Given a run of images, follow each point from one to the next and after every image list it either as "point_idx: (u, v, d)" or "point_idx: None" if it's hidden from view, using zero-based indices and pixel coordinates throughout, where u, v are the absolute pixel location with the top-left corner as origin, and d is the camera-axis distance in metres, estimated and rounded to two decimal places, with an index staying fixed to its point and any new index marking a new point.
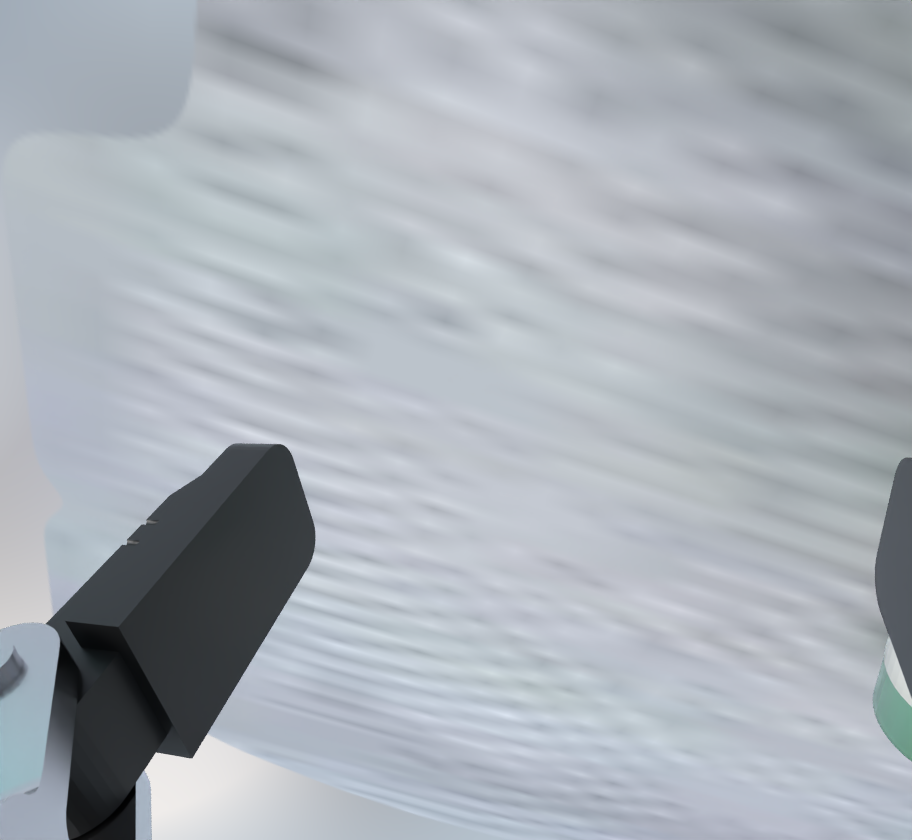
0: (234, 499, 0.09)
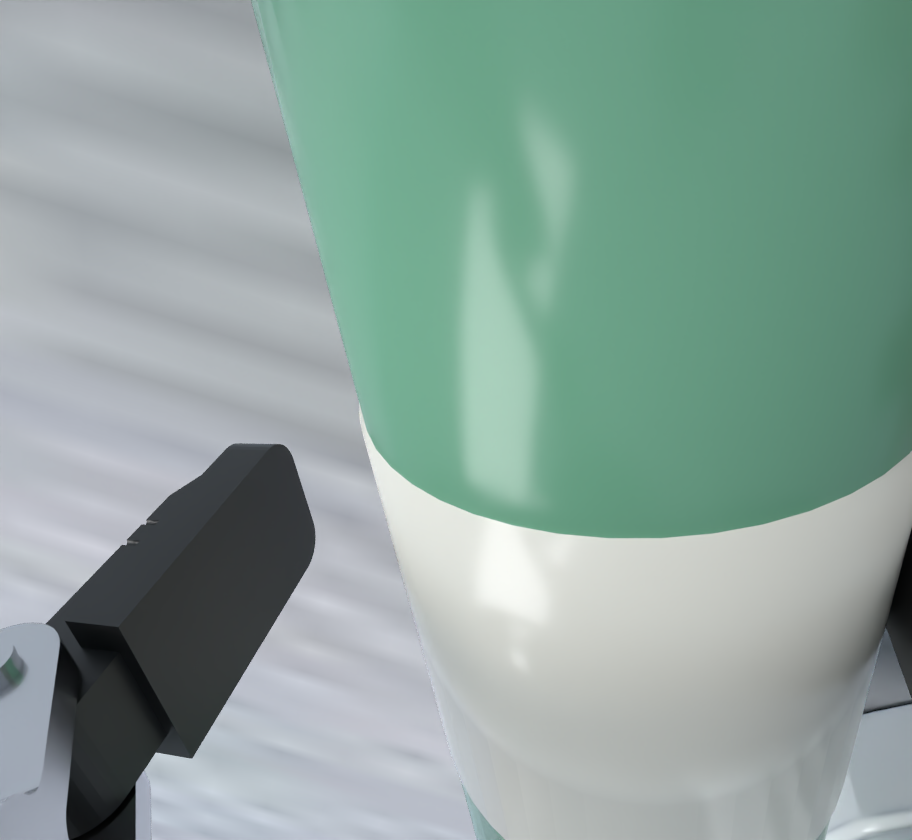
0: (234, 499, 0.09)
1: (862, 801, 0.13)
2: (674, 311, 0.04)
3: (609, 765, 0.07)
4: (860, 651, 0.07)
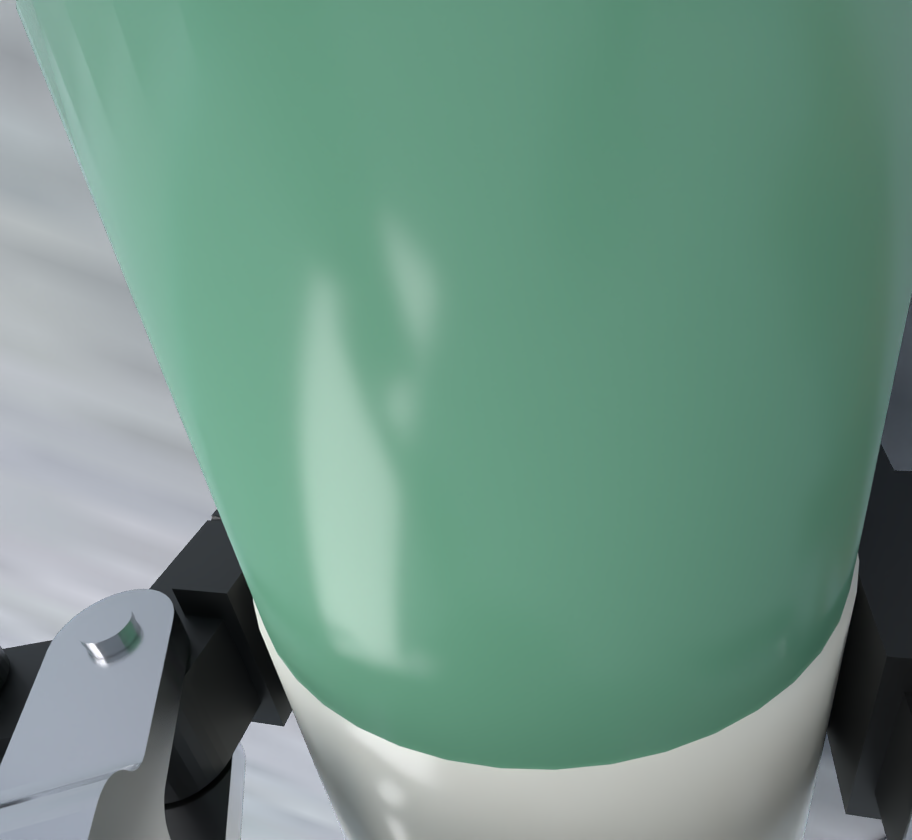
0: None
1: None
2: (232, 508, 0.05)
3: (344, 837, 0.08)
4: None
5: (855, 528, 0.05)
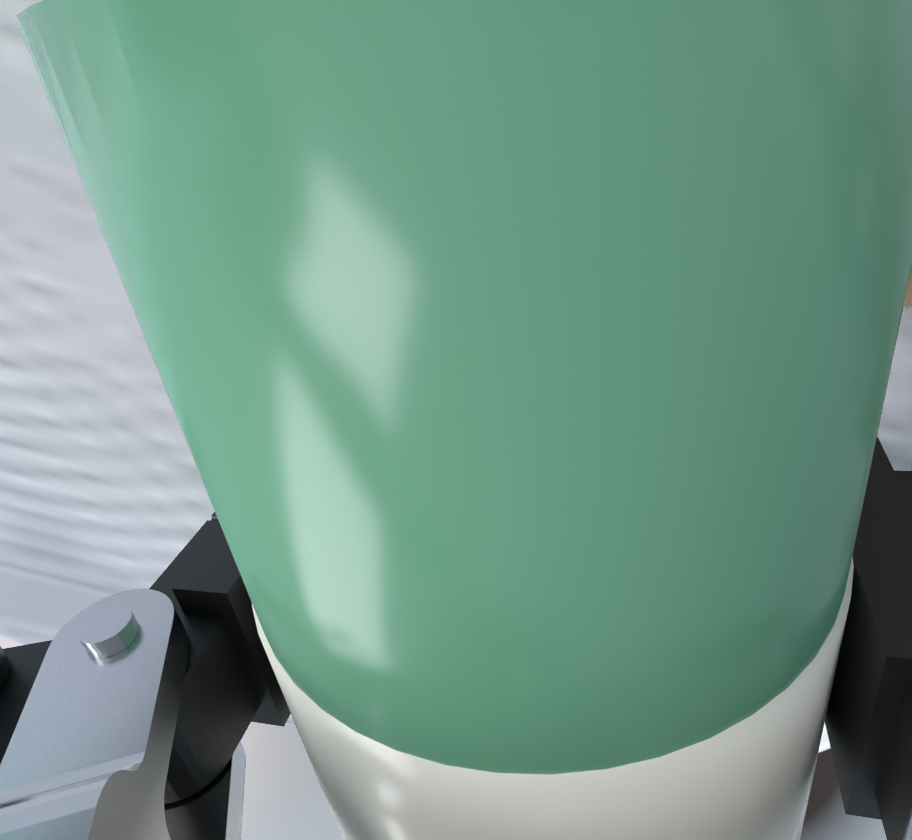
0: None
1: None
2: (233, 514, 0.05)
3: (343, 839, 0.08)
4: None
5: (848, 535, 0.05)
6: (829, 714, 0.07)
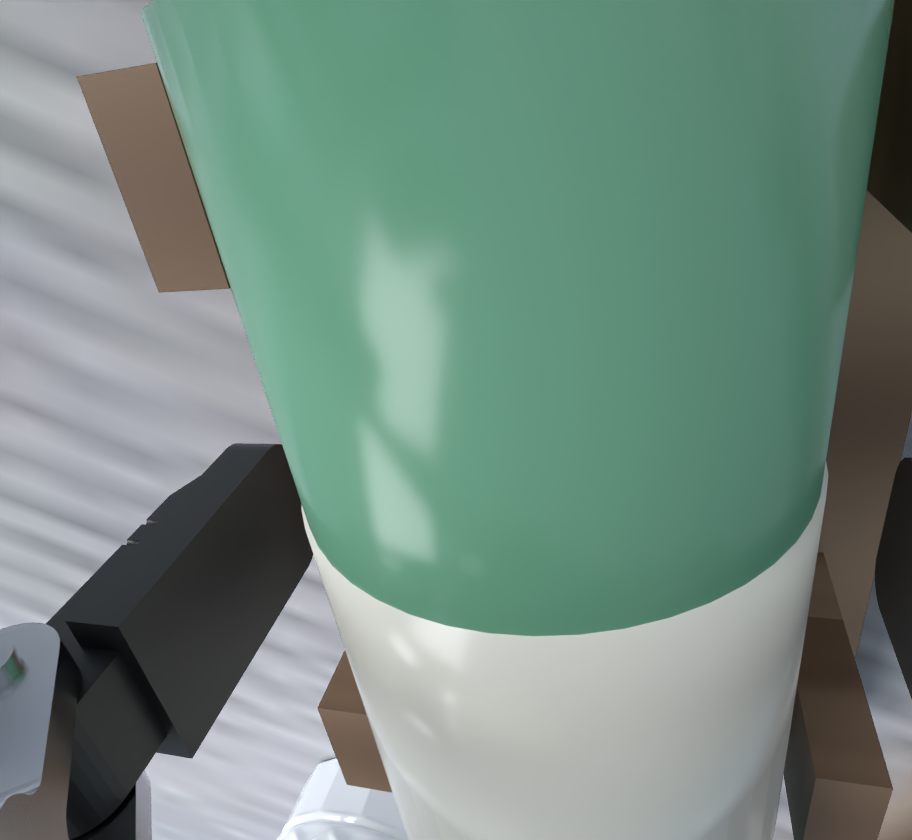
0: (234, 499, 0.09)
1: (298, 808, 0.24)
2: (307, 423, 0.06)
3: (383, 746, 0.09)
4: (576, 798, 0.07)
5: (821, 432, 0.06)
6: None
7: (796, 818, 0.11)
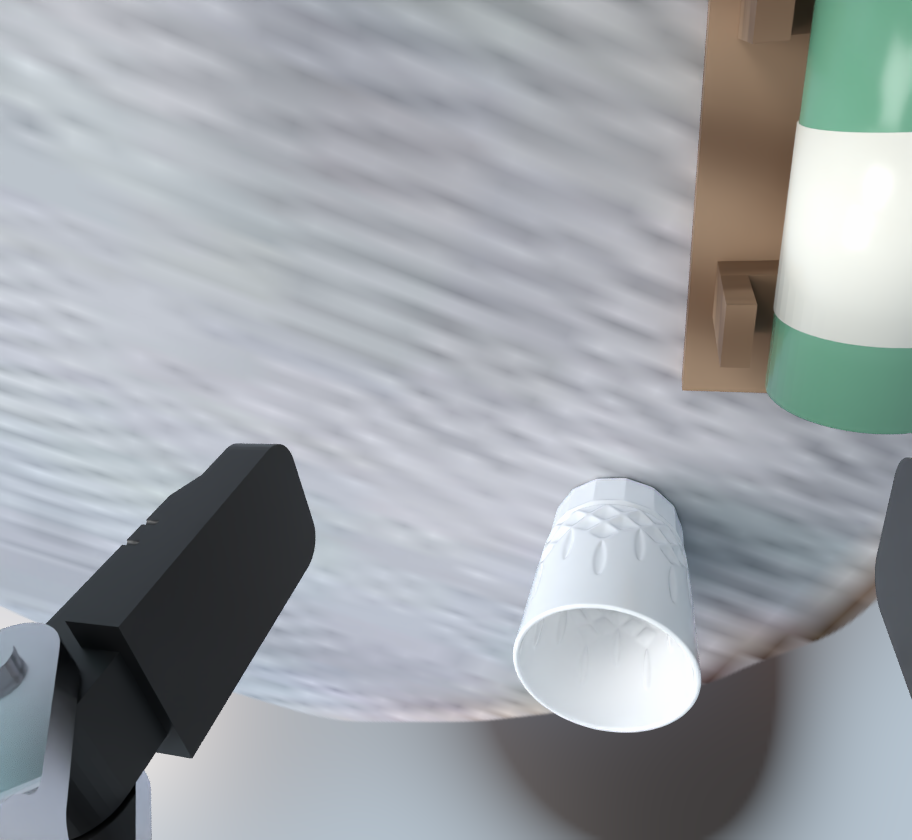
0: (234, 499, 0.09)
1: (569, 506, 0.35)
2: (890, 52, 0.17)
3: (834, 245, 0.20)
4: None
5: None
6: None
7: None
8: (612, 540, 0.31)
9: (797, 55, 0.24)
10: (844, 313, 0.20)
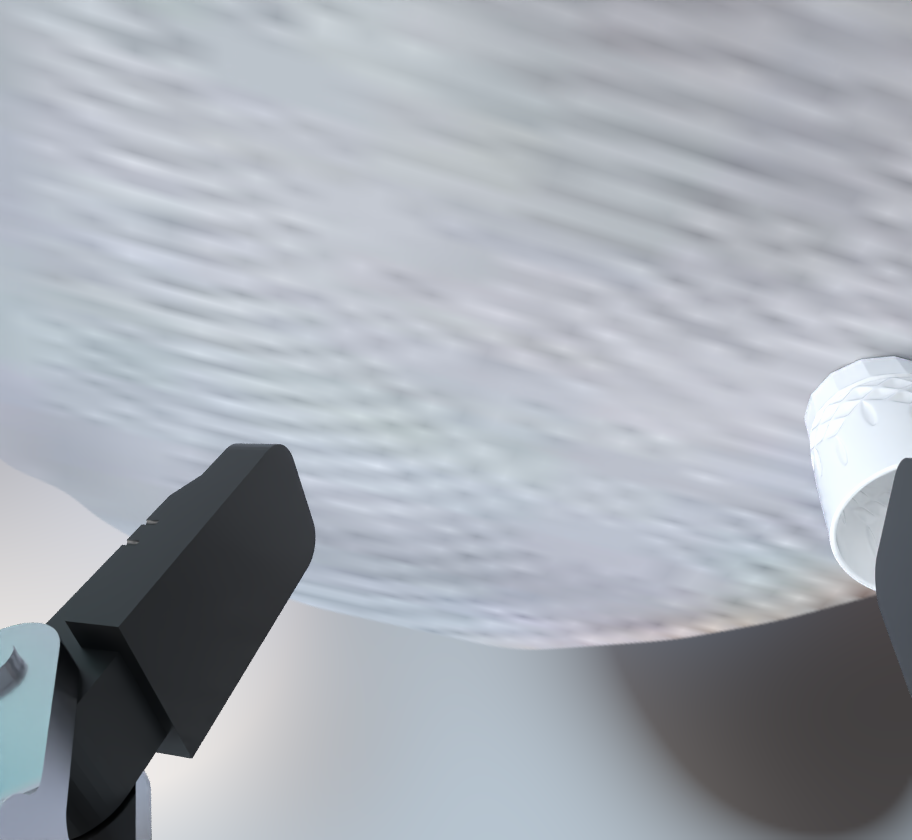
0: (234, 499, 0.09)
1: (839, 387, 0.34)
2: None
3: None
4: None
5: None
6: None
7: None
8: None
9: None
10: None
